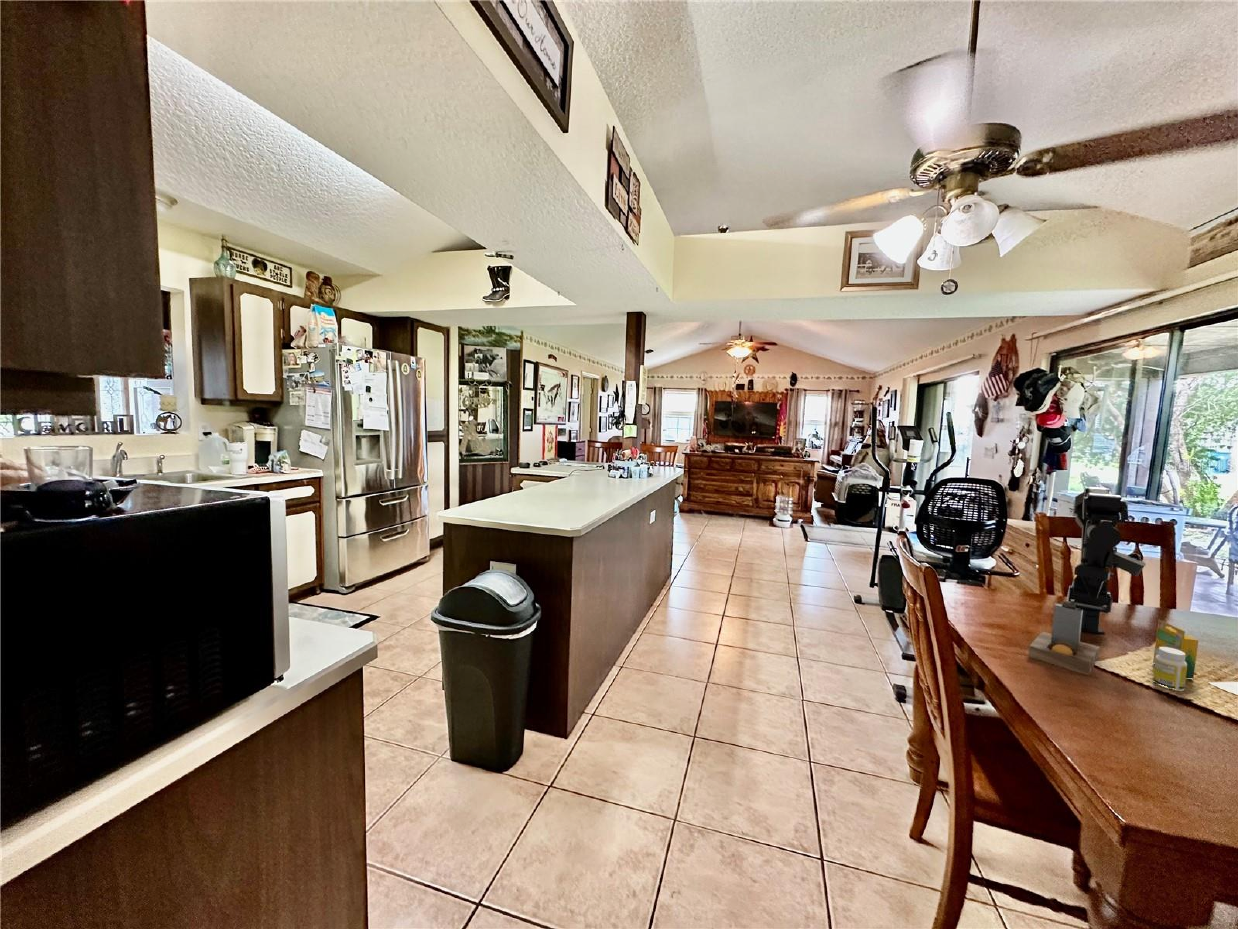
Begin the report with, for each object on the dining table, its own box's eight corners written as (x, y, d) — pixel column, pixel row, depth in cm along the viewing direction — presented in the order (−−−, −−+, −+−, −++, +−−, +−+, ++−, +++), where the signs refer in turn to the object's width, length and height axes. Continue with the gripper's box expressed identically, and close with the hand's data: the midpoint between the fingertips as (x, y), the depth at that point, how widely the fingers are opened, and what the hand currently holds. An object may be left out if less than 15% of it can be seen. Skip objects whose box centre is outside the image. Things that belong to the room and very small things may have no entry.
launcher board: (1041, 642, 130) (1042, 631, 129) (1098, 658, 121) (1099, 646, 121) (1028, 657, 121) (1029, 645, 121) (1088, 675, 112) (1089, 663, 112)
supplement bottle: (1174, 682, 110) (1178, 647, 109) (1190, 693, 105) (1195, 657, 105) (1147, 679, 111) (1150, 644, 111) (1162, 689, 107) (1166, 653, 106)
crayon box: (1194, 681, 111) (1200, 633, 110) (1178, 679, 111) (1184, 631, 110) (1167, 665, 118) (1172, 620, 117) (1152, 664, 118) (1157, 619, 117)
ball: (1048, 640, 122) (1045, 655, 121) (1065, 642, 118) (1062, 657, 117) (1061, 648, 122) (1058, 663, 121) (1078, 650, 118) (1075, 665, 117)
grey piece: (1052, 640, 124) (1056, 598, 123) (1079, 647, 120) (1083, 604, 119) (1050, 642, 122) (1054, 600, 121) (1077, 650, 118) (1081, 606, 117)
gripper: (1140, 553, 114) (1133, 616, 116) (1148, 542, 126) (1142, 599, 127) (1076, 543, 123) (1071, 602, 124) (1089, 534, 134) (1084, 587, 136)
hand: (1093, 597), depth 128 cm, fingers closed
